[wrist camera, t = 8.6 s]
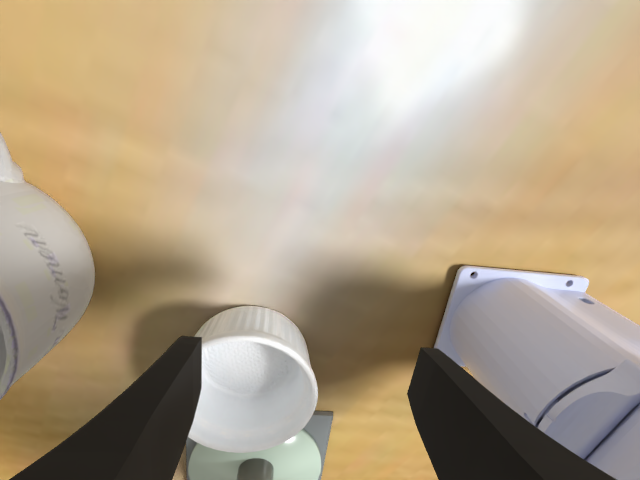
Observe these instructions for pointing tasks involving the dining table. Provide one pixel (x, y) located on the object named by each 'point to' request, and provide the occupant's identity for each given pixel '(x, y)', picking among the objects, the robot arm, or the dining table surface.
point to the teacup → (37, 273)
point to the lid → (259, 462)
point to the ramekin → (252, 381)
